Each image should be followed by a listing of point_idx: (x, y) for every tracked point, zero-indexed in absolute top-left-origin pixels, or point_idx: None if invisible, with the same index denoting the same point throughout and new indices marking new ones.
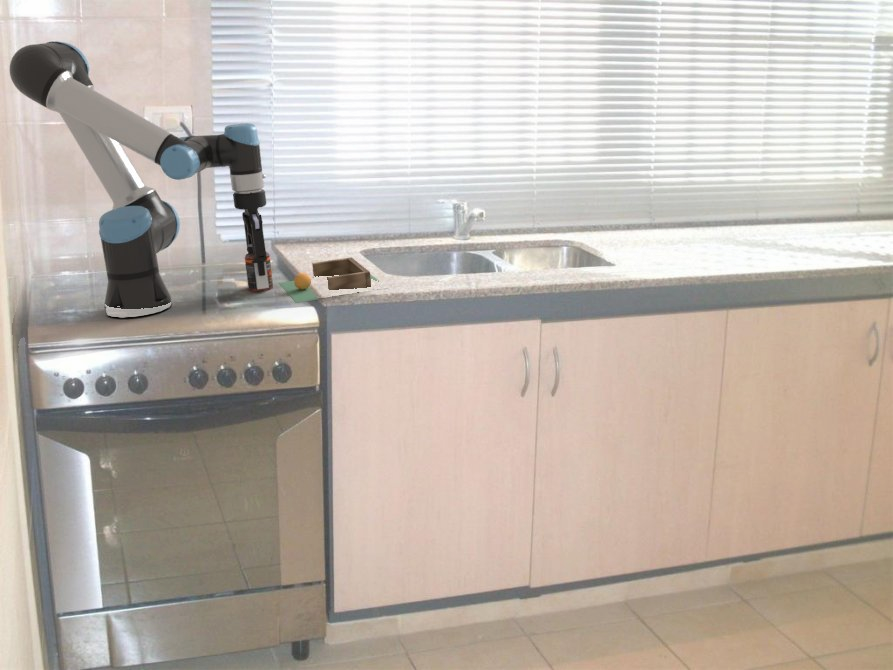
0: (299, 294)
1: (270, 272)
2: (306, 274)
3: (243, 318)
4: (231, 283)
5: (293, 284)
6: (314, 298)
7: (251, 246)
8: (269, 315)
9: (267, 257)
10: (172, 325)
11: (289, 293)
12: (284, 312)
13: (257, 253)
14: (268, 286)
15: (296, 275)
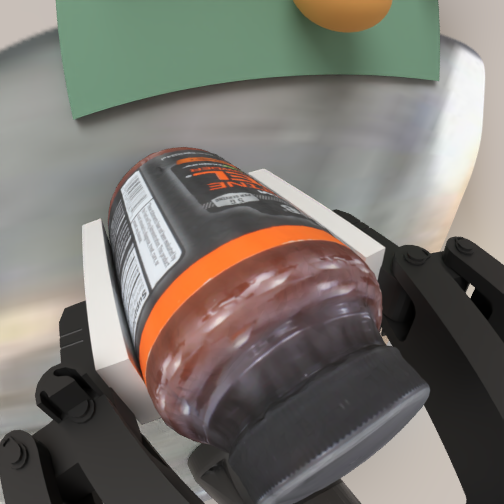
0: (375, 37)
1: (250, 180)
2: None
3: (439, 221)
4: (15, 369)
5: (167, 19)
6: (429, 16)
7: (388, 441)
8: (455, 164)
9: (354, 253)
10: (384, 342)
11: (343, 69)
12: (459, 126)
13: (483, 314)
14: (266, 172)
15: (364, 11)
